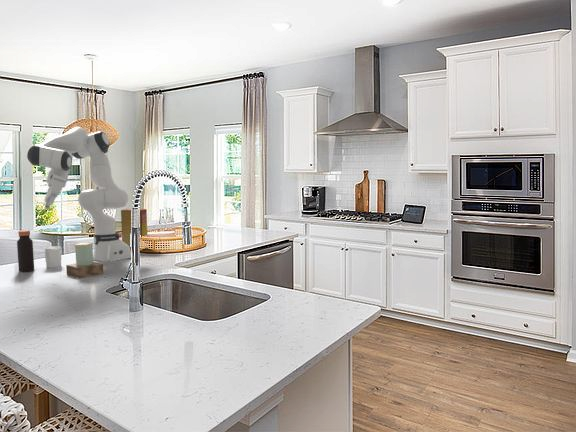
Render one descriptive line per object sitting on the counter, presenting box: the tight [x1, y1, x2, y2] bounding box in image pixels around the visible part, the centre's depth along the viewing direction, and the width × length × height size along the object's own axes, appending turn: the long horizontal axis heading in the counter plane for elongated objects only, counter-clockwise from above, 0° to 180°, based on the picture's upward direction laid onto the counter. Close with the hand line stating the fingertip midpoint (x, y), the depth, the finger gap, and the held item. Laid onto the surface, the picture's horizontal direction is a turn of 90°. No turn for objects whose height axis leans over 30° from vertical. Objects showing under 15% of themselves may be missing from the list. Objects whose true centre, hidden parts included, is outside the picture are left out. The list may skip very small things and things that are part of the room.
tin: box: [74, 242, 94, 266], centre depth 226 cm, size 6×6×10 cm
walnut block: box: [65, 261, 104, 279], centre depth 226 cm, size 12×12×5 cm
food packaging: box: [120, 208, 148, 251], centre depth 294 cm, size 13×9×25 cm
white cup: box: [43, 245, 62, 269], centre depth 243 cm, size 8×8×10 cm
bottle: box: [16, 229, 35, 273], centre depth 233 cm, size 7×7×20 cm
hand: (48, 206), depth 230 cm, fingers open, 8 cm apart
